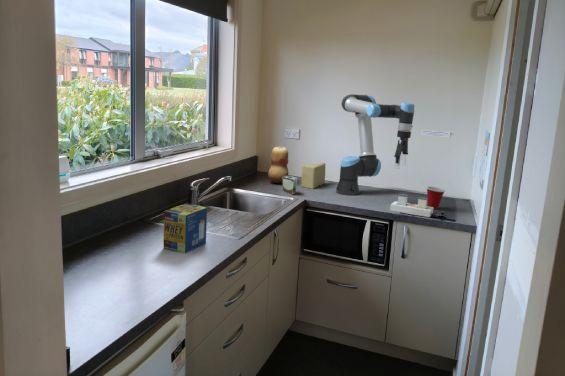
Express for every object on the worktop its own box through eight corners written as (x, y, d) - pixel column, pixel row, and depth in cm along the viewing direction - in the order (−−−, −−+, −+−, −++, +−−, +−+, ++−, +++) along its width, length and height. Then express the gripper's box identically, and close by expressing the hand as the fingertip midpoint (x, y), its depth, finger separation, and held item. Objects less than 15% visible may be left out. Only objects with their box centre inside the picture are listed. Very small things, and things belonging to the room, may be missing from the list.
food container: (301, 194, 291) (302, 178, 289) (293, 195, 288) (294, 179, 286) (289, 190, 301) (290, 175, 299) (281, 191, 297) (282, 175, 295)
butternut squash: (271, 185, 312) (273, 148, 307) (265, 181, 324) (267, 145, 319) (291, 185, 317) (293, 148, 312) (283, 181, 329) (286, 145, 324)
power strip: (389, 210, 266) (390, 203, 265) (394, 206, 275) (395, 199, 274) (444, 219, 253) (445, 212, 252) (447, 215, 261) (448, 208, 260)
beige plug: (416, 213, 262) (418, 198, 260) (417, 212, 265) (419, 196, 264) (424, 215, 260) (426, 199, 258) (425, 213, 264) (427, 198, 262)
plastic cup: (444, 211, 271) (446, 191, 268) (424, 209, 273) (427, 189, 270) (441, 206, 281) (444, 187, 279) (423, 205, 283) (425, 185, 281)
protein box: (162, 248, 185) (162, 210, 182) (185, 238, 199) (186, 202, 196) (184, 254, 181) (185, 215, 178) (206, 242, 195) (207, 206, 191)
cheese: (317, 182, 332) (319, 161, 329) (329, 184, 326) (331, 163, 323) (300, 186, 314) (301, 164, 311) (312, 189, 309) (314, 166, 305)
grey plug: (396, 210, 267) (398, 194, 265) (398, 208, 270) (399, 193, 268) (404, 211, 265) (406, 196, 263) (405, 210, 269) (407, 194, 267)
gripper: (405, 133, 256) (400, 171, 261) (416, 129, 277) (411, 164, 283) (392, 131, 259) (387, 169, 264) (403, 128, 281) (398, 162, 286)
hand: (399, 166), depth 273 cm, fingers open, 13 cm apart
